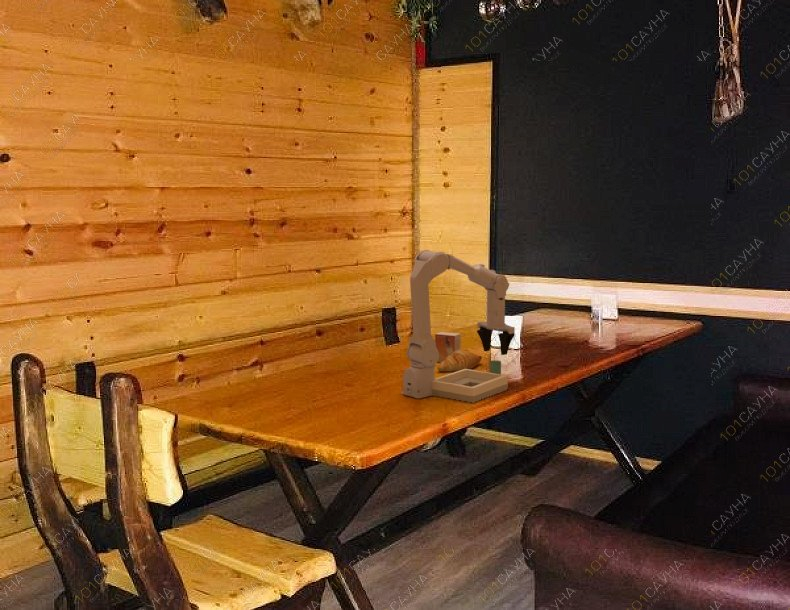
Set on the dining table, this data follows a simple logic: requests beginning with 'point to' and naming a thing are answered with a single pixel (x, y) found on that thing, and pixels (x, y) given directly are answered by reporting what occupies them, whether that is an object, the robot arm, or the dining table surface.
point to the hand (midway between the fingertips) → (495, 352)
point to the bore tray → (469, 385)
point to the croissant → (459, 361)
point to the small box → (447, 344)
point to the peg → (495, 367)
